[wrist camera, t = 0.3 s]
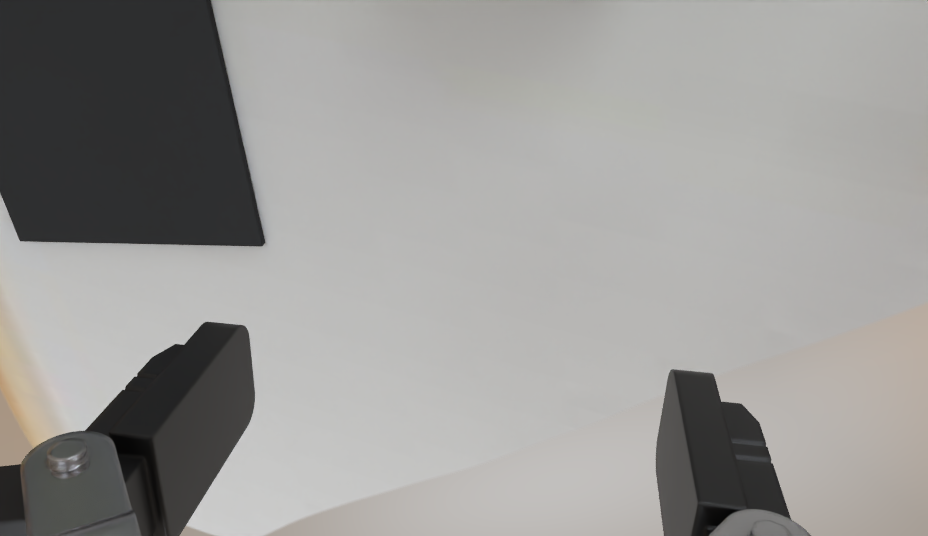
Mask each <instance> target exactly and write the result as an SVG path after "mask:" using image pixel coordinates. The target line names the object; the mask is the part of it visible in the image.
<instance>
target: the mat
mask: <svg viewBox="0 0 928 536" xmlns="http://www.w3.org/2000/svg"><path fill="white" fill-rule="evenodd" d="M0 193H1V195H2V198H3V200H4V203H5V205H6V208H7V210H8V213H9V215H10V217H11V220H12V222H13V225H14V227H15V230H16V232H17V235H18V237H19V240H20V241H38V242H85V243H132V244H179V245H226V246H263V245H264V243H265V241H264V237H263V232H262V228H261V223H260V219H259V214H258V210H257V206H256V201H255V197H254V192H253V188H252V183H251V179H250V175H249V170H248V166H247V161H246V157H245V153H244V148H243V144H242V139H241V135H240V130H239V126H238V122H237V117H236V113H235V108H234V104H233V99H232V95H231V91H230V86H229V82H228V77H227V73H226V69H225V64H224V60H223V55H222V51H221V46H220V42H219V38H218V33H217V29H216V24H215V20H214V16H213V11H212V7H211V2H210V0H0Z"/></svg>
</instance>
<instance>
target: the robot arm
mask: <svg viewBox="0 0 928 536" xmlns="http://www.w3.org/2000/svg"><path fill="white" fill-rule="evenodd" d="M254 402H255V390H254V380H253V369H252V359H251V349H250V339H249V333H248V330H247V328H246V327H245V326H243V325H234V324H224V323H214V322H205V323H203V324H202V325H201V326H200V327H199V329H198V330H197V331H196V332H195V333H194V334H193V336H192V337H191V338H190V339H189V340H188V341H187V342H186V344H185V345H179V344H175V345H173V346H172V347H170V348H168V349H166V350H164V351H163V352H161V353H159V354H157V355H156V356H154V357H152V358H151V359H150V360H149V362H148V363H147V364H146V365H145V366H144V367H143V368H142V369H141V370H140V371H139V373H138V375H137V377H134V378H133V379H132V380H131V381H130V382H129V383H128V385H127V386H126V388H125V390H122V391H121V392H120V393H119V394H118V395H117V397H116V398H115V399H114V400H113V401H112V402H111V403H110V404H109V405H108V406H107V407H106V409H105V410H104V411H103V412H102V413H101V414H100V415H99V416H98V417H97V418H96V419H95V421H94V422H93V423H92V424H91V425H90V426H89V427H88V428H87V429H86V430H85V431H77V432H70V433H66V434H62V435H59V436H56V437H53V438H51V439H48V440H46V441H45V442H43V443H41V444H39V445H38V446H36V447H35V448H34V449H32V450H31V451H30V452H29V453H28V454H27V456H25V458H24V460H23V461H22V464H19V465H11V466H2V467H0V536H179V535H180V534H181V532H182V531H183V529H184V527H185V526H186V524H187V523H188V521H189V519H190V518H191V516H192V514H193V513H194V511H195V510H196V508H197V506H198V505H199V503H200V502H201V500H202V498H203V497H204V495H205V494H206V492H207V490H208V489H209V487H210V486H211V484H212V482H213V481H214V479H215V478H216V476H217V474H218V473H219V471H220V469H221V468H222V466H223V465H224V463H225V461H226V460H227V458H228V457H229V455H230V453H231V452H232V450H233V449H234V447H235V445H236V444H237V442H238V441H239V439H240V437H241V436H242V434H243V433H244V431H245V429H246V428H247V426H248V424H249V422H250V420H251V417H252V413H253V409H254ZM656 475H657V483H658V491H659V499H660V506H661V515H662V523H663V531H664V536H811V535H810V534H809V533H808V532H807V531H806V530H805V529H804V528H803V527H801V526H800V525H799V524H797V523H795V522H794V521H792V520H791V518H790V515H789V512H788V509H787V506H786V503H785V500H784V497H783V494H782V491H781V487H780V485H779V481H778V478H777V476H776V472H775V469H774V466H773V464H772V463H771V457H770V454H769V451H768V448H767V447H766V442H765V439H764V436H763V433H762V430H761V427H760V424H759V422H758V421H757V420H756V419H755V418H754V417H753V416H752V415H751V413H749V411H748V410H747V409H746V408H745V407H744V406H743V405H742V404H738V403H729V402H721V400H720V396H719V392H718V388H717V385H716V381H715V377H714V375H713V374H712V373H704V372H694V371H684V370H674V369H672V370H671V371H670V373H669V376H668V381H667V386H666V392H665V398H664V404H663V409H662V415H661V421H660V427H659V433H658V439H657V448H656Z"/></svg>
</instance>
